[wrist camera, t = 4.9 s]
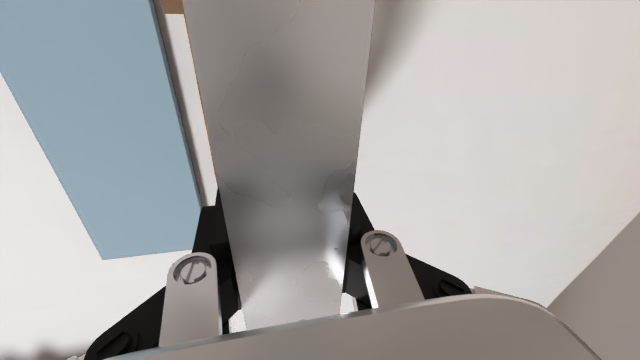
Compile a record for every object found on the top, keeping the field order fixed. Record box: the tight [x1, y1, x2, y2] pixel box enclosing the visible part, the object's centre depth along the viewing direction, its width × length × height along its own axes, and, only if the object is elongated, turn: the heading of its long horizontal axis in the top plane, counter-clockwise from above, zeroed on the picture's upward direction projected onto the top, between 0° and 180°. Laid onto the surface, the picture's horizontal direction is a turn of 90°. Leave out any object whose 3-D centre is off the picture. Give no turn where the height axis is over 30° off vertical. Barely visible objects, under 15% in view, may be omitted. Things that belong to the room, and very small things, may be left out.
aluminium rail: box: [182, 0, 375, 330], centre depth 10 cm, size 22×3×3 cm, turn 178°
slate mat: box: [0, 0, 202, 260], centre depth 22 cm, size 30×10×1 cm, turn 178°
